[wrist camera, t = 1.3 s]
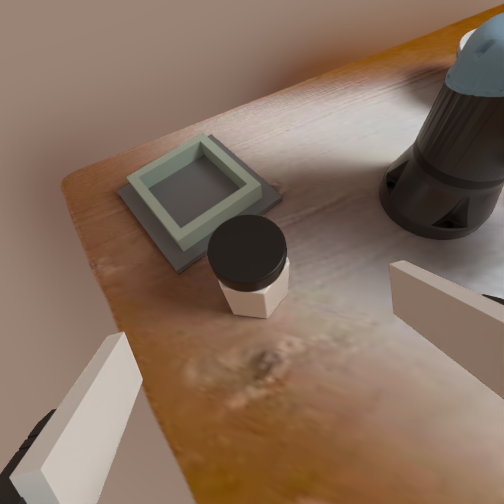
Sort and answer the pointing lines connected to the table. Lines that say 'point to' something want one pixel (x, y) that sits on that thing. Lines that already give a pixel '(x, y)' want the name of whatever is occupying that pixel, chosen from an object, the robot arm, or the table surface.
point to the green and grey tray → (194, 197)
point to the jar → (250, 264)
